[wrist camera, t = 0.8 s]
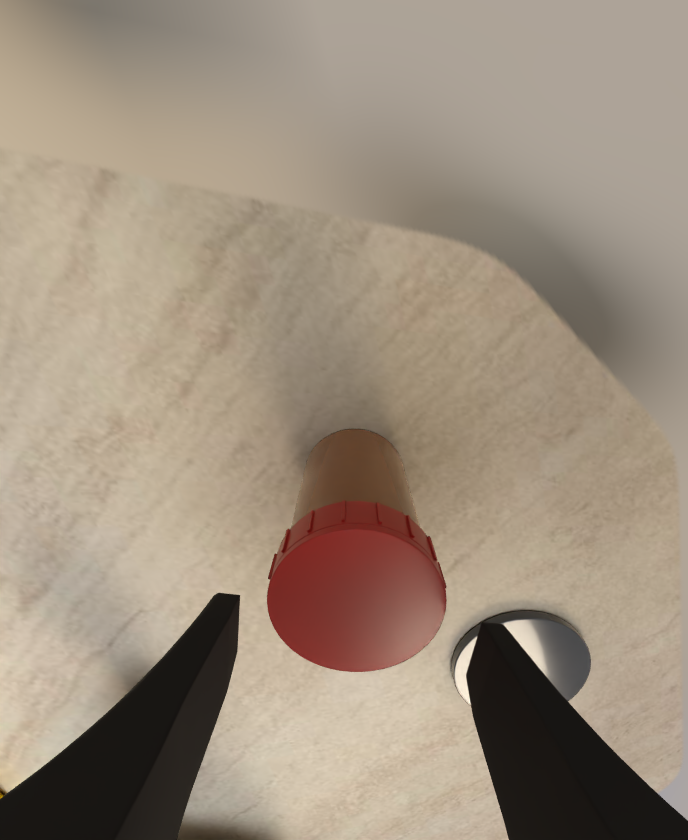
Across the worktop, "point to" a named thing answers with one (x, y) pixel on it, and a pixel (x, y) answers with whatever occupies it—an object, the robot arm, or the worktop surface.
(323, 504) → the jar
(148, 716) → the robot arm
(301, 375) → the worktop surface
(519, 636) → the coaster
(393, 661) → the lid
